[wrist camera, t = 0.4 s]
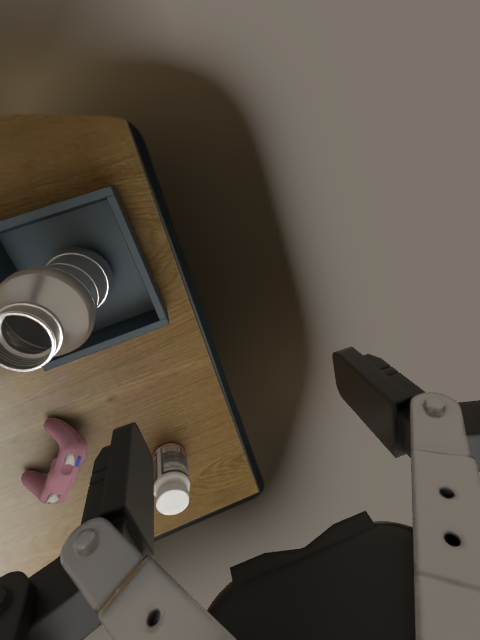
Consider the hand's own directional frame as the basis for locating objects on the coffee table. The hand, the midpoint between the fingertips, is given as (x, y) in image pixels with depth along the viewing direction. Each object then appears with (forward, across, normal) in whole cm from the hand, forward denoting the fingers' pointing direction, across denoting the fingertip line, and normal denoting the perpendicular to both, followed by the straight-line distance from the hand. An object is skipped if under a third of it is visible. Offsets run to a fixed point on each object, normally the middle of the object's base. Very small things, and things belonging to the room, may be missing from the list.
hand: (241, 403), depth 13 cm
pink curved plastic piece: (+28, +23, +19) cm, 41 cm away
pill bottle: (+28, +11, +27) cm, 40 cm away
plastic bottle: (+29, +11, -1) cm, 31 cm away
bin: (+29, +11, -1) cm, 31 cm away
